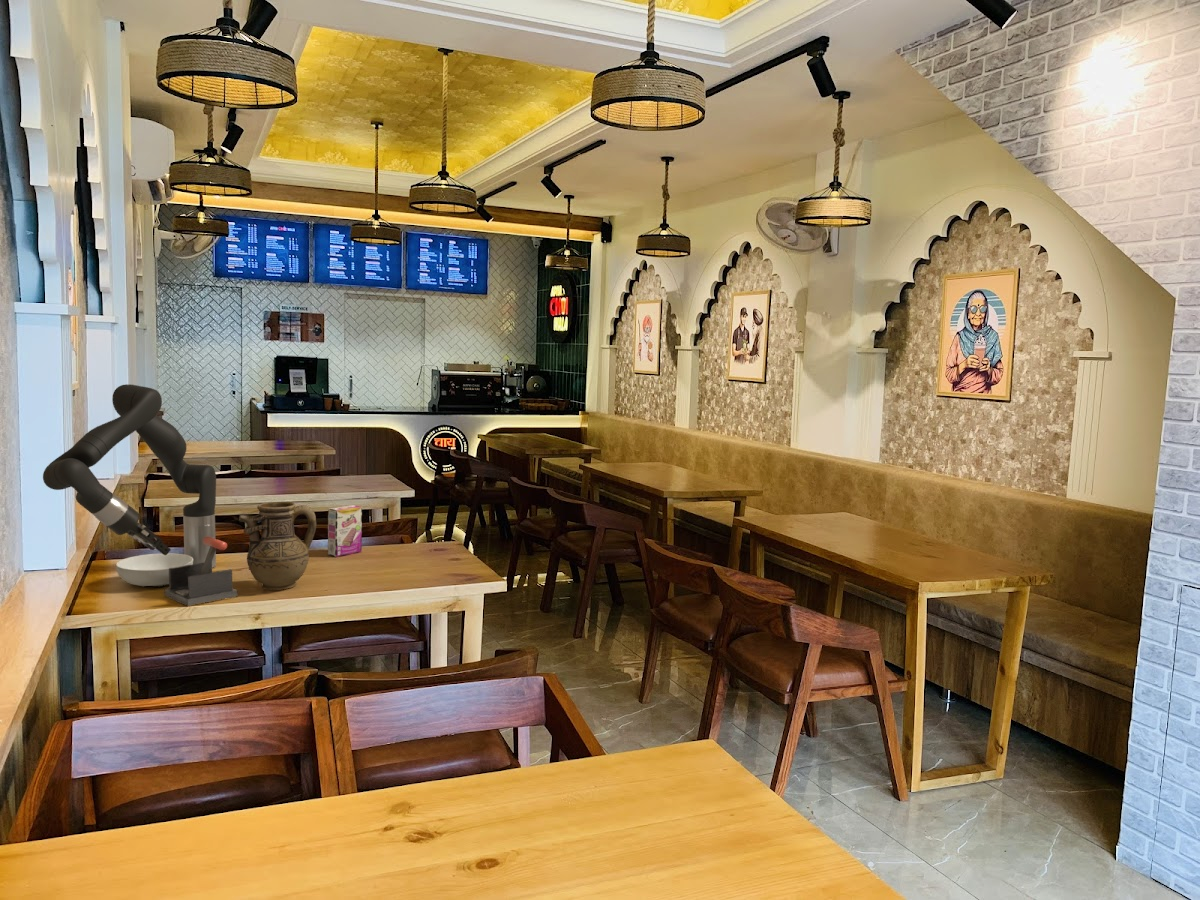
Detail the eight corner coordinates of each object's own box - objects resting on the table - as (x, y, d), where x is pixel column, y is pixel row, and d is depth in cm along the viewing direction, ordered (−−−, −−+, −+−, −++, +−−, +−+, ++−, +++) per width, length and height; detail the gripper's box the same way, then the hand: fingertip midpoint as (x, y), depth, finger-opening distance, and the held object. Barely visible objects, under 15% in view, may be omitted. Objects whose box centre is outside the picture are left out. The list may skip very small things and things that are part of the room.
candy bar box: (336, 557, 308) (336, 510, 306) (327, 555, 311) (326, 508, 309) (362, 552, 317) (362, 506, 315) (353, 550, 320) (353, 504, 318)
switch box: (188, 606, 248) (187, 578, 247) (164, 595, 258) (163, 568, 257) (237, 596, 258) (236, 569, 257) (213, 587, 268) (212, 560, 267)
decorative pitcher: (315, 577, 282) (313, 498, 279) (319, 591, 265) (318, 507, 263) (240, 582, 274) (238, 501, 271) (240, 597, 258) (238, 511, 255)
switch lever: (204, 586, 253) (220, 540, 255) (188, 580, 260) (204, 535, 262) (211, 588, 255) (228, 543, 257) (196, 581, 261) (212, 537, 264)
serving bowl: (113, 595, 257) (112, 571, 257) (119, 577, 277) (119, 555, 276) (193, 589, 266) (192, 566, 265) (194, 572, 285) (193, 551, 284)
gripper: (136, 506, 235) (182, 543, 245) (115, 499, 245) (160, 535, 255) (115, 528, 232) (162, 565, 242) (94, 521, 241) (141, 556, 251)
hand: (161, 549), depth 248 cm, fingers open, 8 cm apart
